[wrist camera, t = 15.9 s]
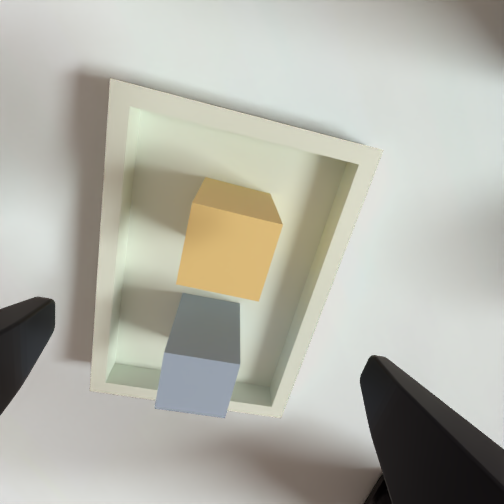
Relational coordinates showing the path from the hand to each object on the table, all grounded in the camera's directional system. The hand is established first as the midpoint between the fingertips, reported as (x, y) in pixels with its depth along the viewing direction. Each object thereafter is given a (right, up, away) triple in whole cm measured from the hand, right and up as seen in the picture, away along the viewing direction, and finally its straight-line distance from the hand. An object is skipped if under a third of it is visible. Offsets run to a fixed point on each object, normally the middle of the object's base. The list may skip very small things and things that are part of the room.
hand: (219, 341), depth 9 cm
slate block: (-2, -2, +14) cm, 14 cm away
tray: (-1, +1, +13) cm, 13 cm away
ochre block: (0, +5, +11) cm, 12 cm away
